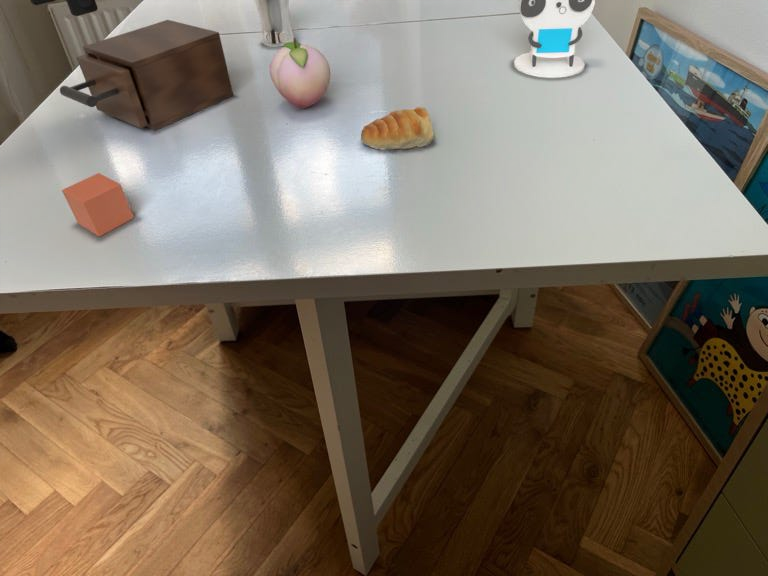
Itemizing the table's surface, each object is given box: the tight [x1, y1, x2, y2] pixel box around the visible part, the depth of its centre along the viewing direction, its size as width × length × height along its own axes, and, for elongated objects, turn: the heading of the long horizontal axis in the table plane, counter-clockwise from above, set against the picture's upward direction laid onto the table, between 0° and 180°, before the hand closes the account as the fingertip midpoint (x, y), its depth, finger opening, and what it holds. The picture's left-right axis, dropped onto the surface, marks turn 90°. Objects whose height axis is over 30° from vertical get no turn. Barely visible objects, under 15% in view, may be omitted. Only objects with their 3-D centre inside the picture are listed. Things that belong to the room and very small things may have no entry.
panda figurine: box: [513, 0, 596, 79], centre depth 87 cm, size 12×11×15 cm
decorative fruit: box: [269, 37, 331, 109], centre depth 80 cm, size 9×8×10 cm
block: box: [61, 172, 135, 237], centre depth 61 cm, size 4×4×4 cm
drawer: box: [59, 54, 148, 129], centre depth 81 cm, size 18×11×8 cm, turn 142°
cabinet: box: [82, 19, 234, 131], centre depth 83 cm, size 15×13×10 cm
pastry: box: [360, 106, 435, 151], centre depth 73 cm, size 9×7×4 cm
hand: (64, 7), depth 70 cm, fingers open, 9 cm apart
